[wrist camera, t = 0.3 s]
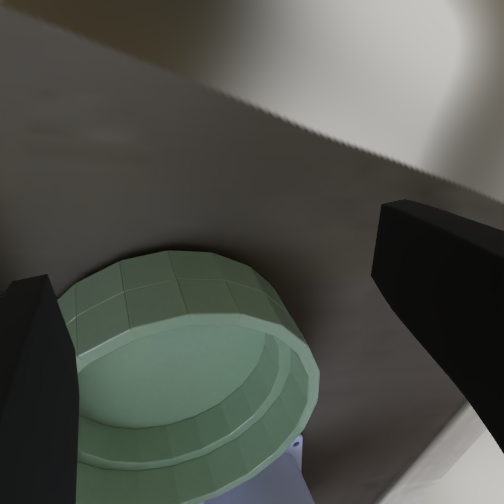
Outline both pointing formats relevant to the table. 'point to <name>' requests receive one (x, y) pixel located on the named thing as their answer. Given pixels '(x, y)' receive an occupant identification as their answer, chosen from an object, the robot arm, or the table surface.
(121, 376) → the bowl
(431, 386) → the table surface
